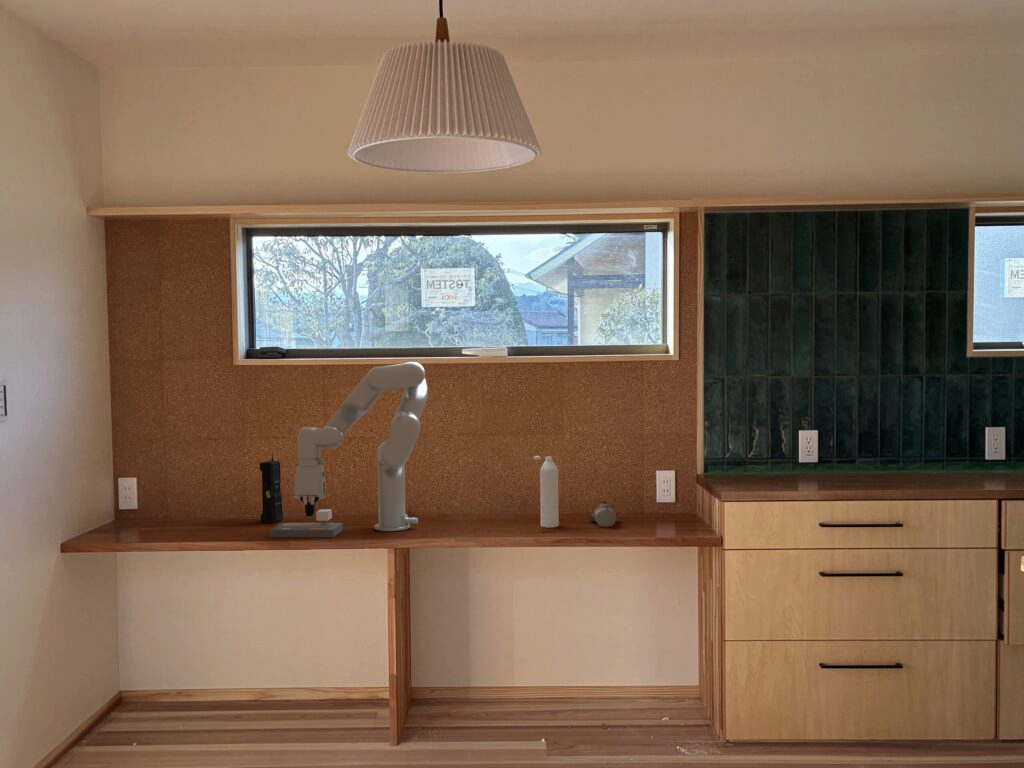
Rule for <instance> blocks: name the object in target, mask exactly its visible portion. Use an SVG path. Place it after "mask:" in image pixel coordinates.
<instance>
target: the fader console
mask: <svg viewBox="0 0 1024 768" xmlns="http://www.w3.org/2000/svg"><path fill="white" fill-rule="evenodd" d="M326 524H327V525H322V522H281V523H279V524H278V525H276V526H274V527H272V528H271V529H270V530H269V538H335V537H336V536H338V534H340V533H341V532H343V530H344V523H343V522H326Z"/></svg>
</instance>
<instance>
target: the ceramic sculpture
mask: <svg viewBox="0 0 1024 768" xmlns="http://www.w3.org/2000/svg"><path fill="white" fill-rule="evenodd" d="M587 517H588V519H589V521H592V522H596V523H597V525H598V526H599V527H601V528H602V527H603V528H609V527H613V526H614V525H615V523H616V522H617V517H618V514H617V513H615V511H614V509H613V508H612V507H611V504H609V503H608V502H606V501H602V502H601V503H600V504H598V505H596V507H595V509H594V510H593V513H589V514H588V516H587Z"/></svg>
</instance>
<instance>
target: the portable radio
mask: <svg viewBox="0 0 1024 768" xmlns="http://www.w3.org/2000/svg"><path fill="white" fill-rule="evenodd" d="M259 470H260V471H261V489H262V490H261V491H262V492H261V495H262V497H261V498H262V499H261V500H262V512H261V514H260V523H262V524H276V523H278V522H281V521H283V519H284V515H283V514H284V513H283V512H284V511H283V499H282V498H283V496H282V491H281V490H282V487H281V481H282V479H281V478H282V477H281V462H280V460H274V455H273V453H272V454H271V460H267V461H263V462H259Z"/></svg>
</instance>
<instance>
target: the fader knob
mask: <svg viewBox="0 0 1024 768" xmlns="http://www.w3.org/2000/svg"><path fill="white" fill-rule="evenodd" d="M332 512H333V509H331V508H329V509H327V508H321V509H318V510H317V511H316V512H315V517H316V518H315V519H316V521H321V523H322V525H327V524H326V523H327V522H328V521H330V520H331V519H332V518H333V513H332Z"/></svg>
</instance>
